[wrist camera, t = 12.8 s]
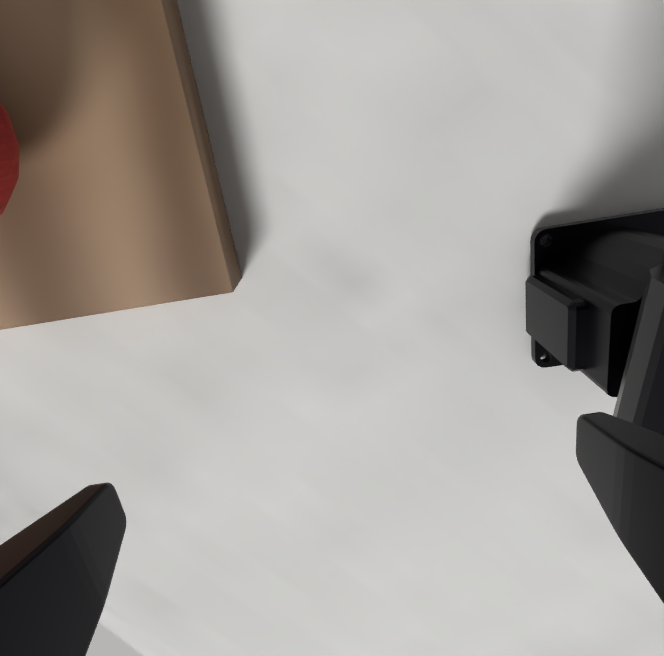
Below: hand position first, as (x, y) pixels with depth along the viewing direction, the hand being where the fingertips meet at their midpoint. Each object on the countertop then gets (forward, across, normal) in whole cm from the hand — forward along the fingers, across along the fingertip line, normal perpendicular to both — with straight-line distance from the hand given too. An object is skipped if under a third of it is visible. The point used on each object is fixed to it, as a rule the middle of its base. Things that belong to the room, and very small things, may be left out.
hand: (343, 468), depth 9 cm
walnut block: (+14, +11, -8) cm, 19 cm away
